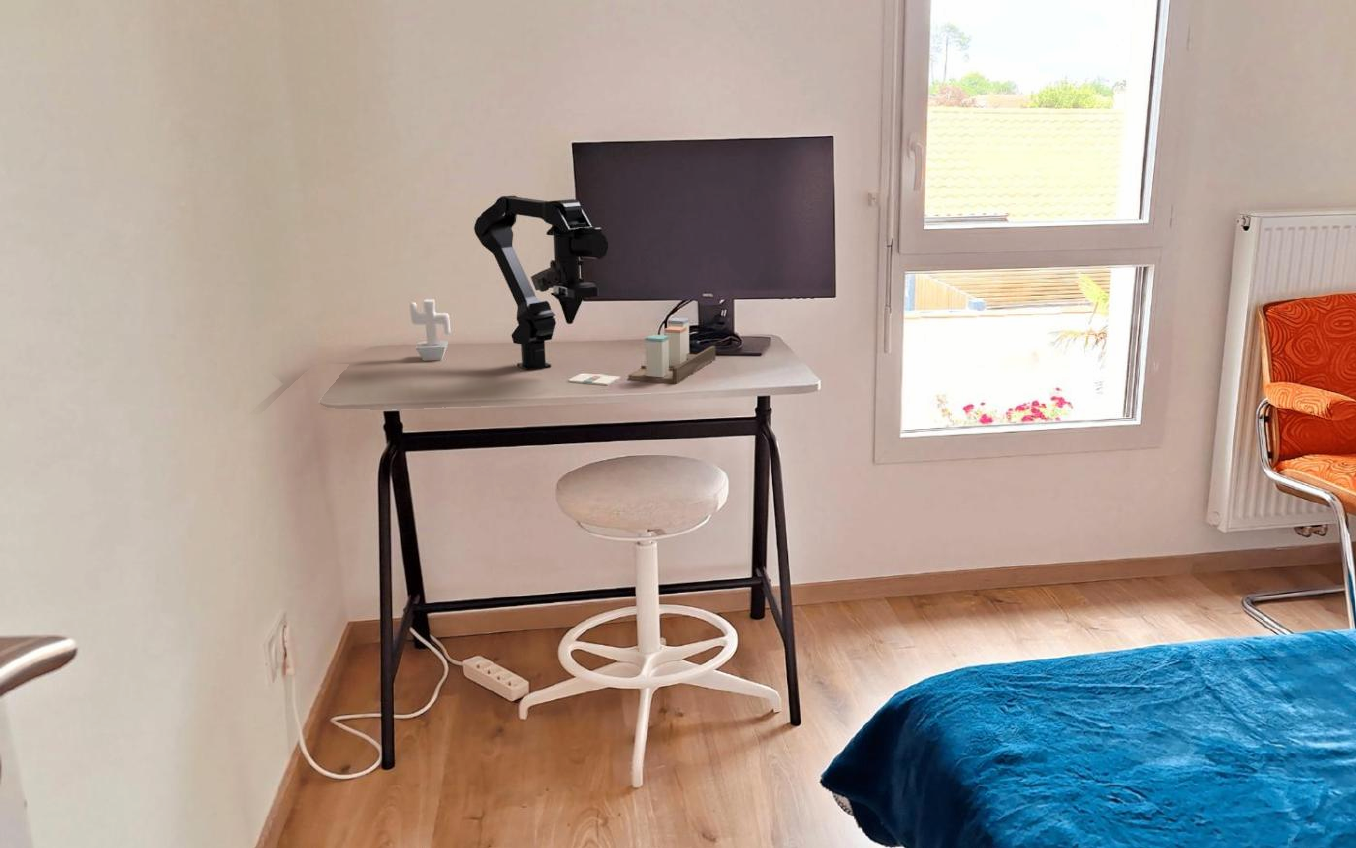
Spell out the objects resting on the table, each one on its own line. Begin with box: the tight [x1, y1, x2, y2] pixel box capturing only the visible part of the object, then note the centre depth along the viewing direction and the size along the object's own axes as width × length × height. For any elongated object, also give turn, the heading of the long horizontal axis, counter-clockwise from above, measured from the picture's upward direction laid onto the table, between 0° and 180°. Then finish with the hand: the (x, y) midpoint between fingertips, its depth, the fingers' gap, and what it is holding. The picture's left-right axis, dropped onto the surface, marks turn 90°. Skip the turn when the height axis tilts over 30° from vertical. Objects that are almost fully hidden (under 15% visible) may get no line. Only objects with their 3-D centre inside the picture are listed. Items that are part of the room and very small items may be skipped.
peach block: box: [663, 326, 686, 367], centre depth 233 cm, size 4×4×9 cm
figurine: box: [409, 298, 451, 362], centre depth 246 cm, size 7×9×15 cm
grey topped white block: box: [667, 317, 690, 355], centre depth 244 cm, size 4×4×9 cm
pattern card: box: [567, 373, 622, 386], centre depth 225 cm, size 10×7×1 cm
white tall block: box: [645, 334, 669, 377], centre depth 223 cm, size 4×4×9 cm
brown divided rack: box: [627, 345, 716, 385], centre depth 234 cm, size 12×26×4 cm, turn 158°
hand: (569, 323), depth 228 cm, fingers closed
